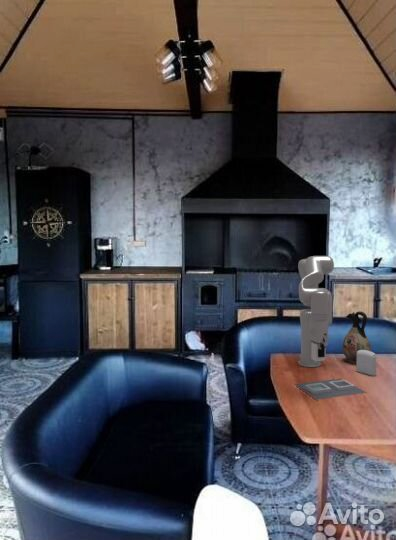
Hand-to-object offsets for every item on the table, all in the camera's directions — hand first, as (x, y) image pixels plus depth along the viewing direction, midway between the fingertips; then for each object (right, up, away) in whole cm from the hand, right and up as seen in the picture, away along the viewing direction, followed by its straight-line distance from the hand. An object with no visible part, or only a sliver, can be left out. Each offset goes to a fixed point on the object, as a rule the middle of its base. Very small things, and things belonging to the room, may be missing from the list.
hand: (318, 355), depth 203 cm
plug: (0, -2, 0) cm, 2 cm away
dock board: (+6, -17, +4) cm, 19 cm away
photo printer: (+33, -15, +27) cm, 45 cm away
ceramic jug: (+35, -13, +47) cm, 60 cm away
